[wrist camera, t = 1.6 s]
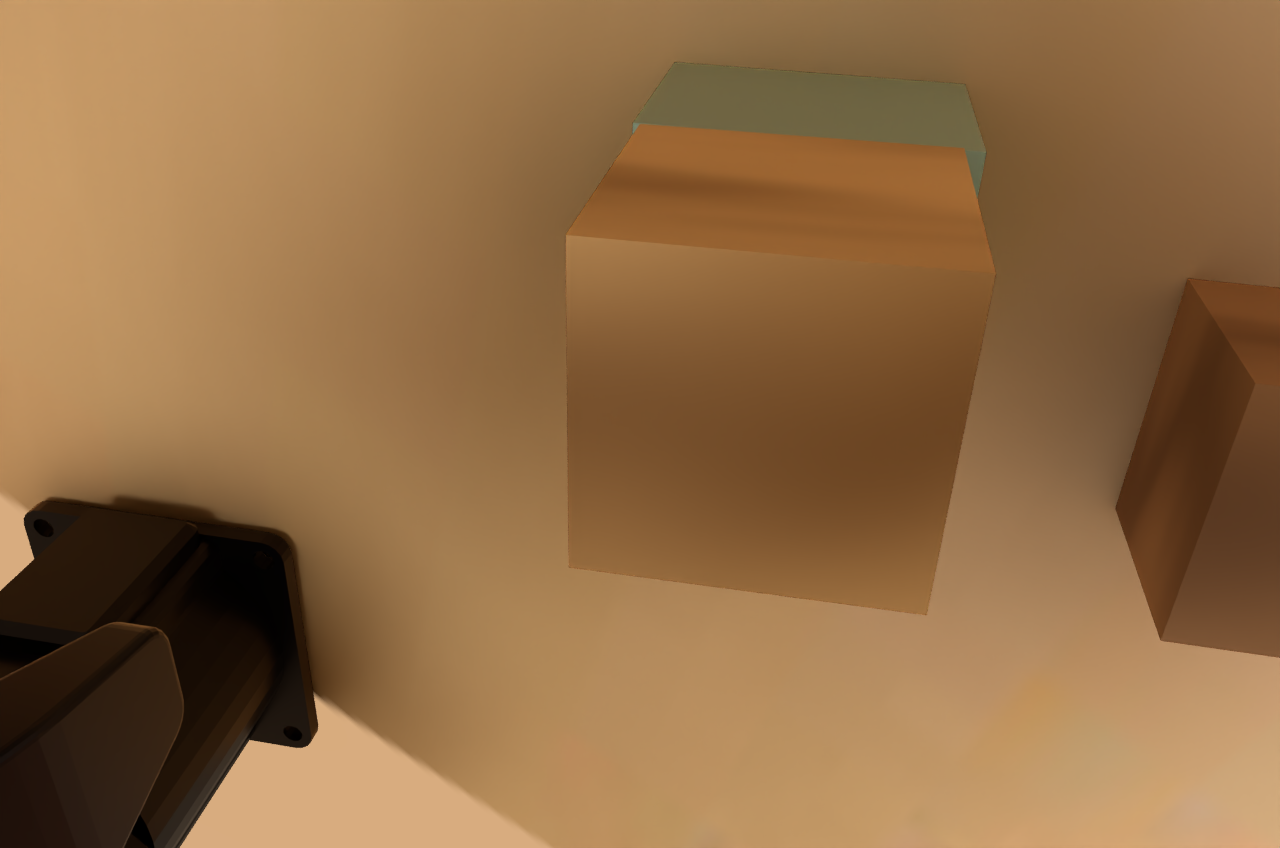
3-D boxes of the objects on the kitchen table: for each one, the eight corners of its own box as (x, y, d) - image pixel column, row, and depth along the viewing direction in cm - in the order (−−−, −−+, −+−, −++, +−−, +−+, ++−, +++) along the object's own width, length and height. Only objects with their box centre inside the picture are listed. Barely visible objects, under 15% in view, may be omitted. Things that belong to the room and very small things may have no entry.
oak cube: (914, 431, 17) (927, 615, 13) (633, 399, 18) (569, 567, 14) (964, 148, 15) (995, 273, 11) (640, 124, 15) (564, 234, 12)
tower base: (916, 345, 21) (926, 456, 17) (663, 317, 21) (623, 420, 18) (964, 82, 18) (986, 152, 15) (675, 60, 19) (632, 122, 15)
